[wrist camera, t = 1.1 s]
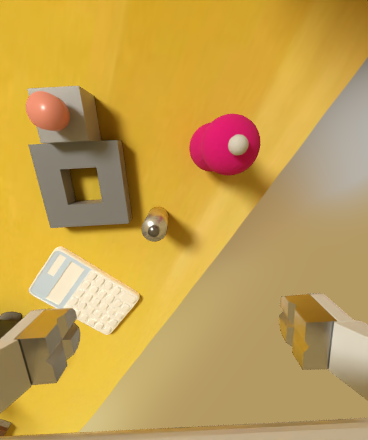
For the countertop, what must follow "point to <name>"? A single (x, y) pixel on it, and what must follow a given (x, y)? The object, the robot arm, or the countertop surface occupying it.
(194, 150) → the pepper mill
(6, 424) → the beige stacked box tower
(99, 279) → the calculator
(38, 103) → the plunger
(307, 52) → the countertop surface
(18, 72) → the countertop surface
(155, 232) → the cell
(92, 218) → the grey stepped block frame
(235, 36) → the countertop surface
